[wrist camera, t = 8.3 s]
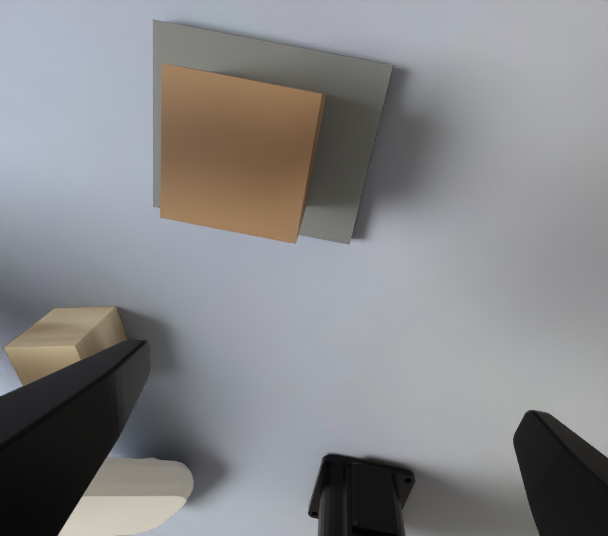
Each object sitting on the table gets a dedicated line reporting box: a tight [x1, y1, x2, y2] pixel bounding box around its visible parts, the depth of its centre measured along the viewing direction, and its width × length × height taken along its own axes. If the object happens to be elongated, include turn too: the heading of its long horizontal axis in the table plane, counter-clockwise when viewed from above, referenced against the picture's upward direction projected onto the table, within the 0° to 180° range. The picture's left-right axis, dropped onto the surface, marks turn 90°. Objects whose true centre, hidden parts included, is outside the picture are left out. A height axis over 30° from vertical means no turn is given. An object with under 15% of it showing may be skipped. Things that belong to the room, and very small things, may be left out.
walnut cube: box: [160, 63, 327, 244], centre depth 15 cm, size 5×5×5 cm
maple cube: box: [3, 306, 127, 386], centre depth 22 cm, size 4×4×4 cm
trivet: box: [153, 20, 393, 244], centre depth 17 cm, size 8×10×1 cm
